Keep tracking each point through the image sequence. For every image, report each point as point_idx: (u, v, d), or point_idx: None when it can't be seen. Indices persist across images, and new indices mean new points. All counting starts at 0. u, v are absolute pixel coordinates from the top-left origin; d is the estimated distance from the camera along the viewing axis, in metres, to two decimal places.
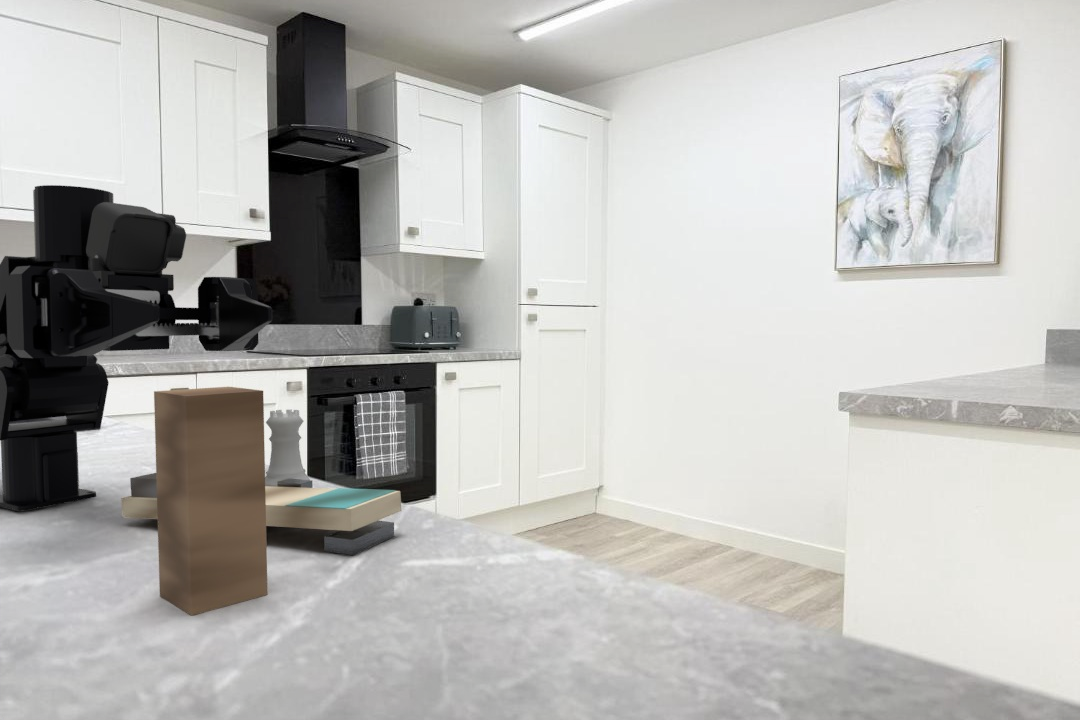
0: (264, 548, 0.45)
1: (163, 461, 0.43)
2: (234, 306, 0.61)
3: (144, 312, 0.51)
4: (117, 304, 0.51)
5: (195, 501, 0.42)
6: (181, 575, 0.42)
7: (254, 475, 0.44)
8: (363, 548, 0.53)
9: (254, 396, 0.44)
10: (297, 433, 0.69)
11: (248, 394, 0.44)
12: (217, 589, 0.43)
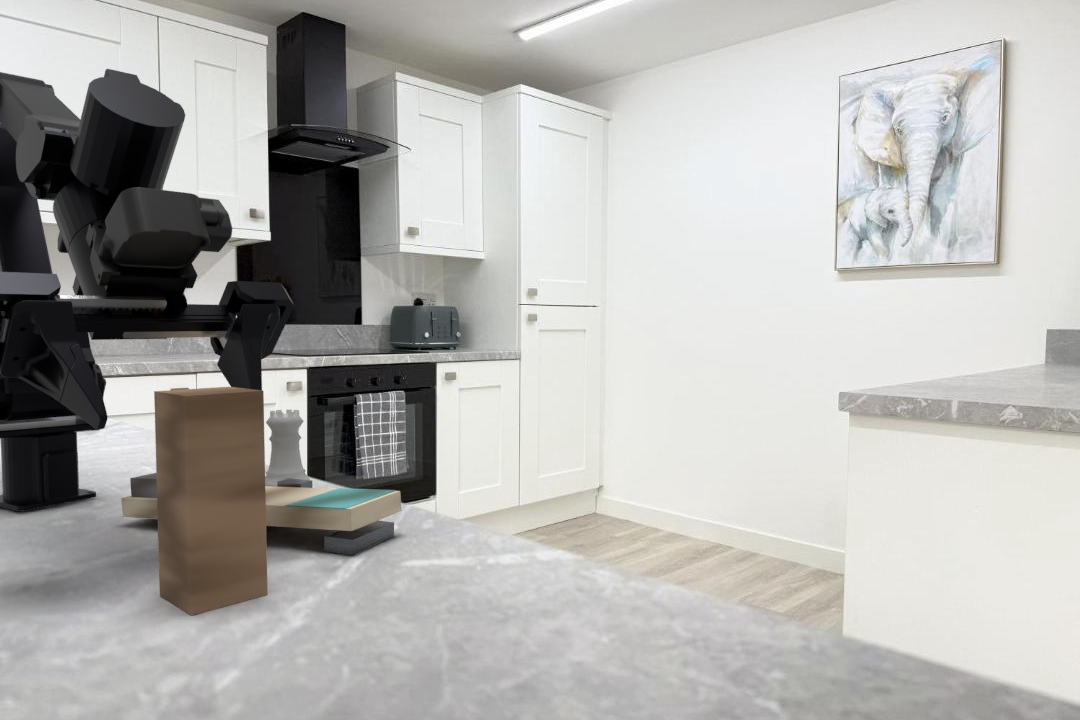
0: (264, 548, 0.45)
1: (163, 461, 0.44)
2: (239, 354, 0.52)
3: (91, 414, 0.43)
4: (71, 382, 0.43)
5: (195, 501, 0.42)
6: (181, 575, 0.42)
7: (254, 475, 0.44)
8: (363, 548, 0.53)
9: (254, 396, 0.44)
10: (297, 433, 0.69)
11: (248, 394, 0.44)
12: (217, 589, 0.43)
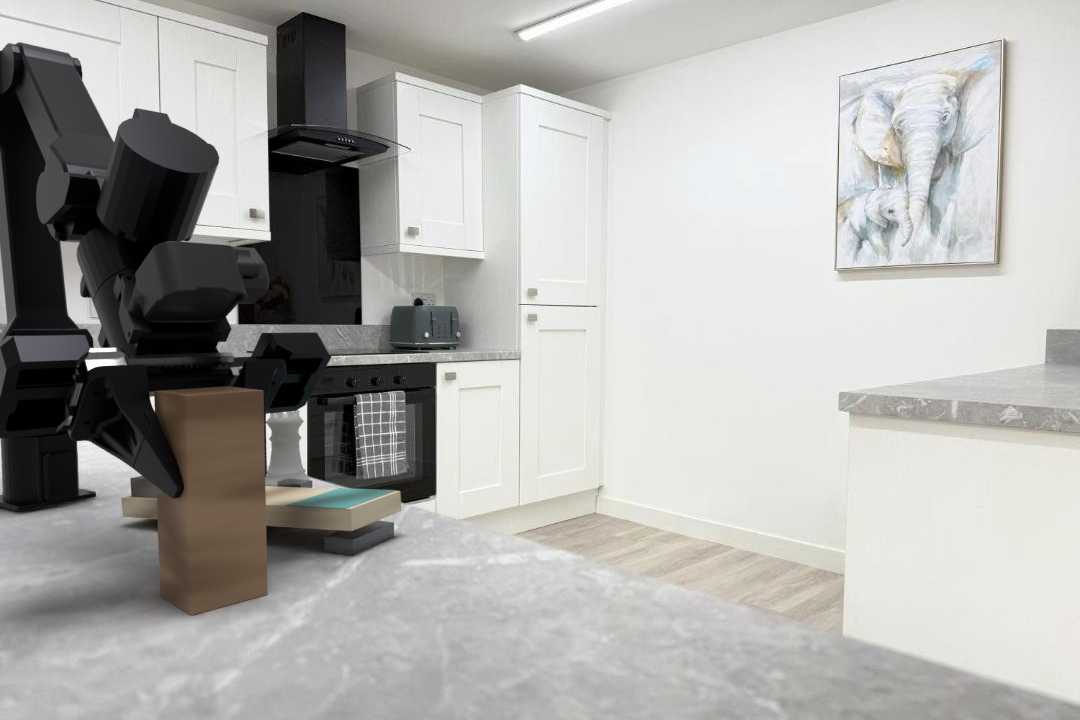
0: (264, 548, 0.45)
1: None
2: None
3: (167, 483, 0.42)
4: (146, 449, 0.42)
5: (195, 501, 0.42)
6: (181, 575, 0.42)
7: (254, 475, 0.44)
8: (363, 548, 0.53)
9: (254, 396, 0.44)
10: (297, 433, 0.69)
11: (248, 394, 0.44)
12: (217, 589, 0.43)
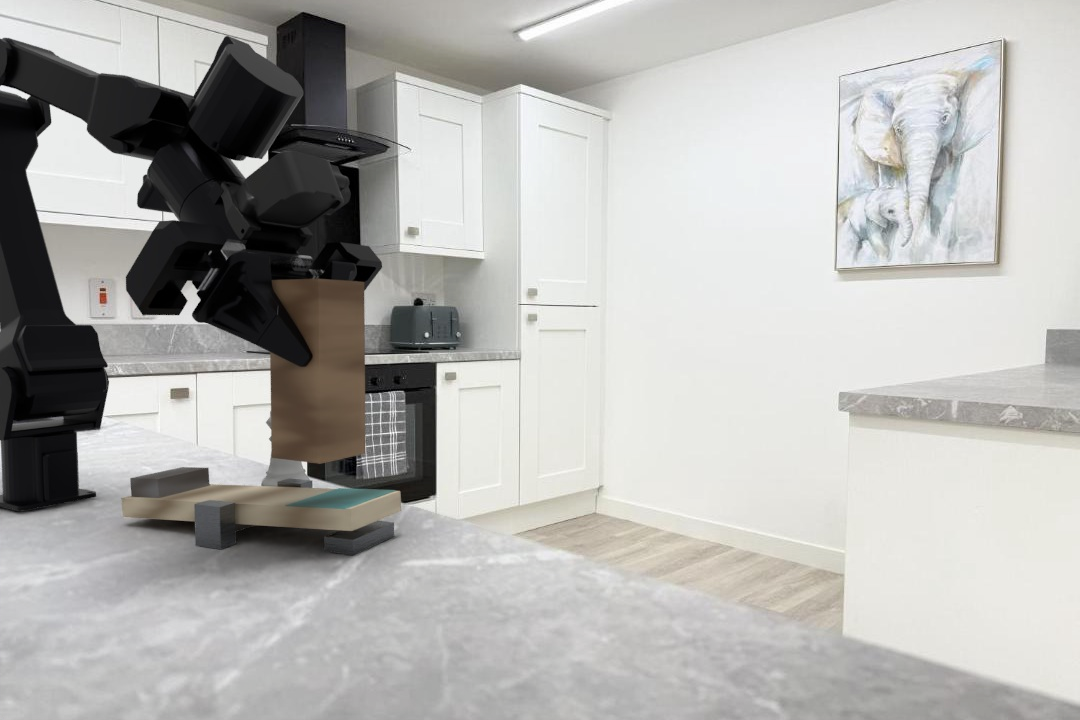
0: (364, 414, 0.53)
1: None
2: None
3: (297, 353, 0.50)
4: (277, 325, 0.49)
5: (323, 368, 0.50)
6: (305, 432, 0.50)
7: (358, 352, 0.53)
8: (363, 548, 0.53)
9: (359, 285, 0.53)
10: None
11: (355, 283, 0.52)
12: (336, 444, 0.51)
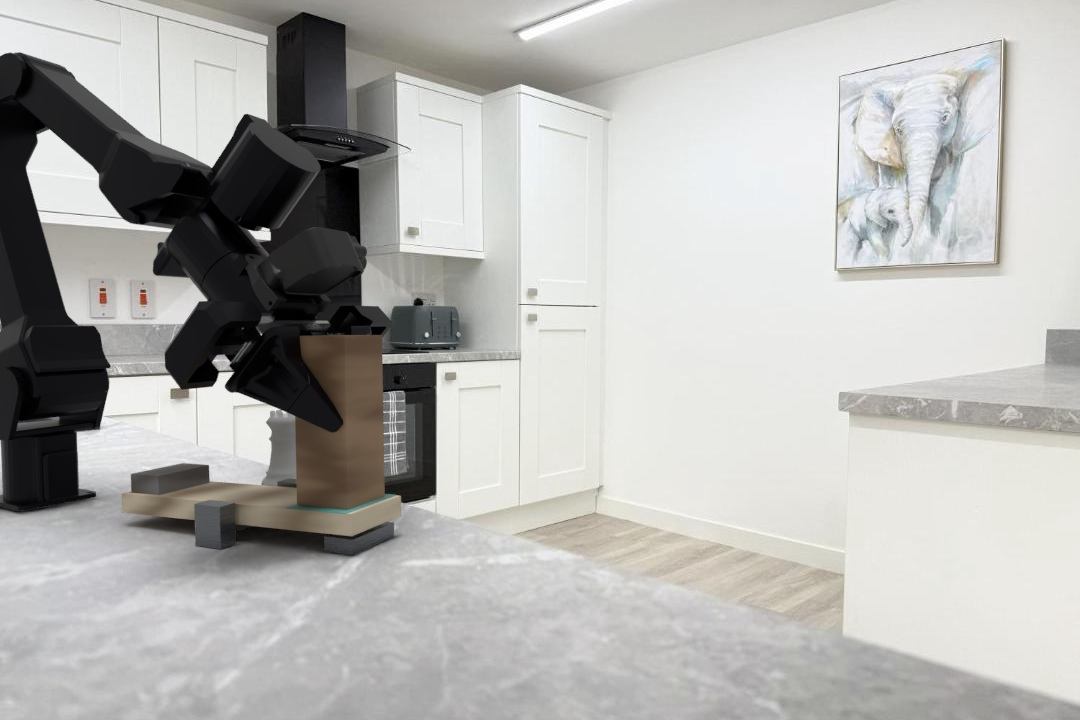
0: (383, 460, 0.57)
1: None
2: None
3: (328, 420, 0.52)
4: (309, 394, 0.52)
5: (349, 419, 0.53)
6: (332, 480, 0.53)
7: (378, 401, 0.56)
8: (363, 548, 0.53)
9: (377, 339, 0.56)
10: None
11: (374, 337, 0.55)
12: (360, 490, 0.54)
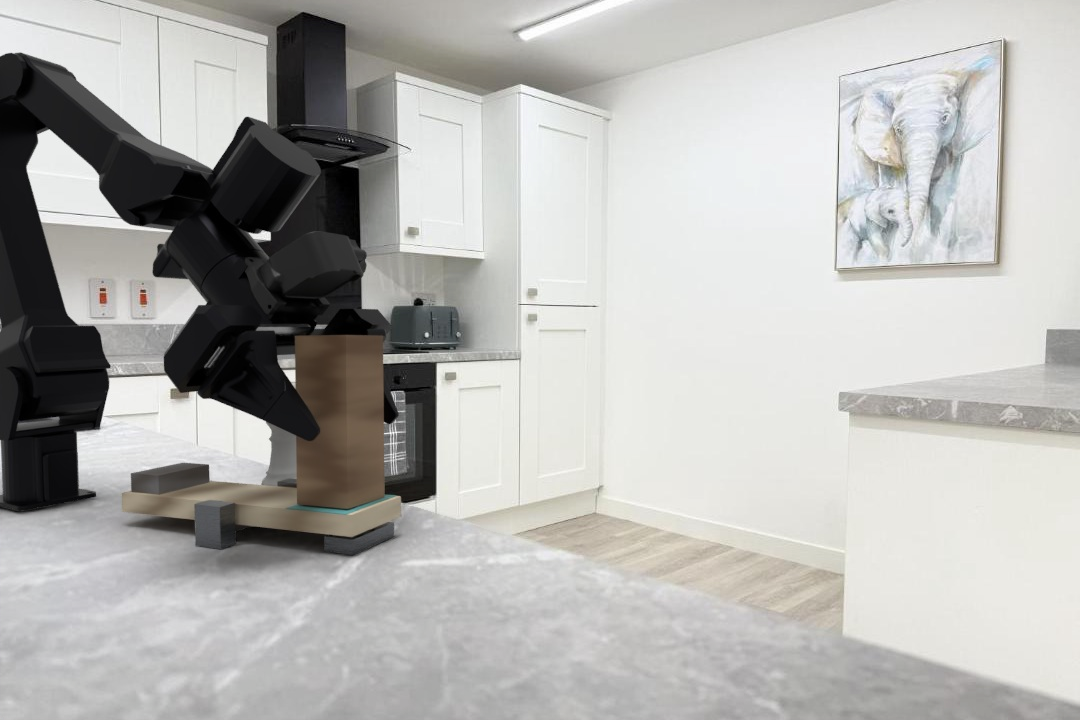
0: (383, 460, 0.57)
1: (308, 391, 0.54)
2: None
3: (305, 428, 0.50)
4: (285, 401, 0.50)
5: (350, 418, 0.53)
6: (332, 479, 0.53)
7: (378, 401, 0.56)
8: (363, 548, 0.53)
9: (378, 339, 0.56)
10: None
11: (375, 337, 0.56)
12: (360, 490, 0.54)
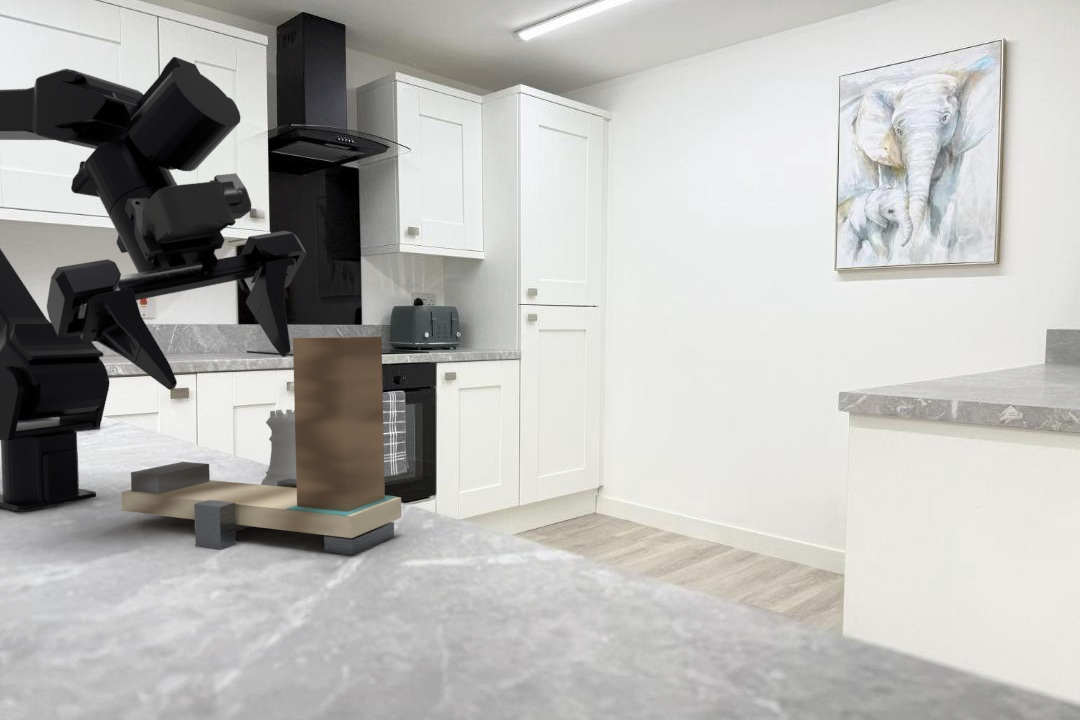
0: (383, 461, 0.57)
1: (306, 394, 0.54)
2: (266, 304, 0.63)
3: (163, 379, 0.56)
4: (144, 354, 0.55)
5: (349, 421, 0.53)
6: (332, 482, 0.53)
7: (377, 403, 0.56)
8: (363, 548, 0.53)
9: (377, 340, 0.56)
10: None
11: (374, 339, 0.55)
12: (360, 492, 0.54)
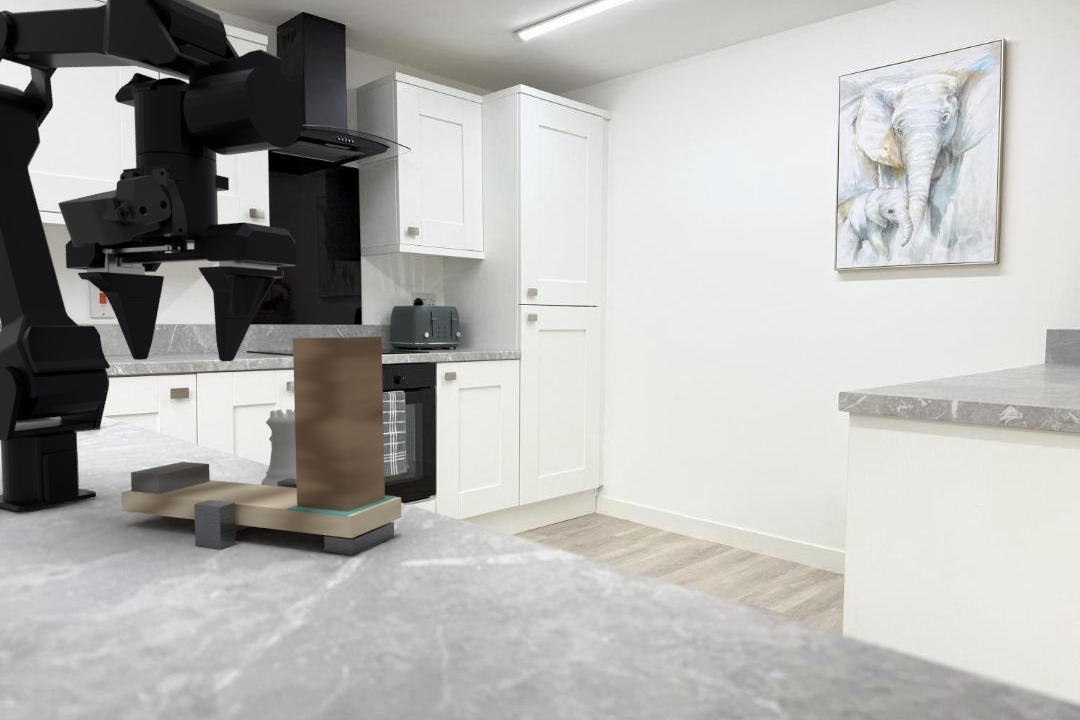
0: (383, 461, 0.57)
1: (306, 394, 0.54)
2: None
3: None
4: None
5: (349, 421, 0.53)
6: (332, 482, 0.53)
7: (377, 403, 0.56)
8: (363, 548, 0.53)
9: (377, 340, 0.56)
10: None
11: (374, 339, 0.55)
12: (360, 492, 0.54)
